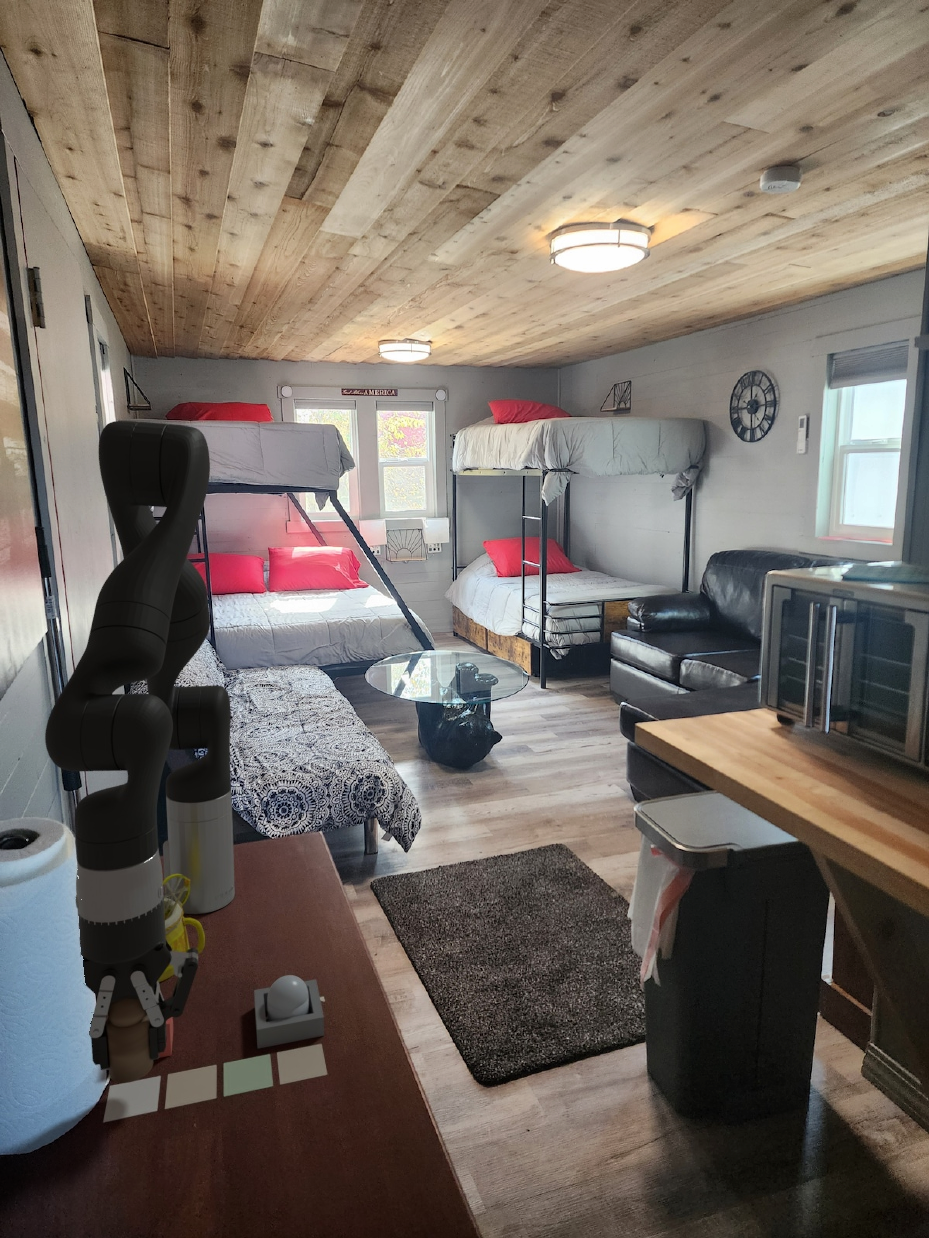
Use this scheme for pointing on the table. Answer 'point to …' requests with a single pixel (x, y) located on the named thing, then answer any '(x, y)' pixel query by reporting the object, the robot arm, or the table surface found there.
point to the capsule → (287, 998)
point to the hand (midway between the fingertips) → (130, 1057)
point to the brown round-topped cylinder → (128, 1041)
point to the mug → (178, 922)
